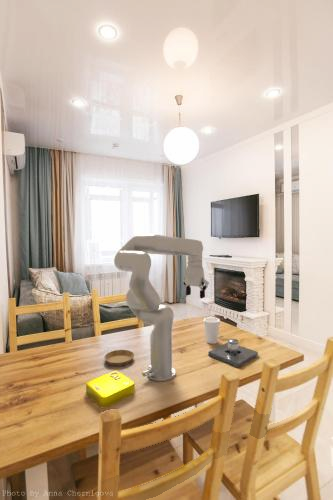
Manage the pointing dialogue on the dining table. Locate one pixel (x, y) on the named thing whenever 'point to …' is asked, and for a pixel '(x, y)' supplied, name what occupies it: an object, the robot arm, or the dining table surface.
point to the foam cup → (211, 329)
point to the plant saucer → (119, 357)
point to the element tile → (110, 388)
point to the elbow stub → (233, 346)
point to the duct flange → (237, 360)
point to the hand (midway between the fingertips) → (195, 296)
